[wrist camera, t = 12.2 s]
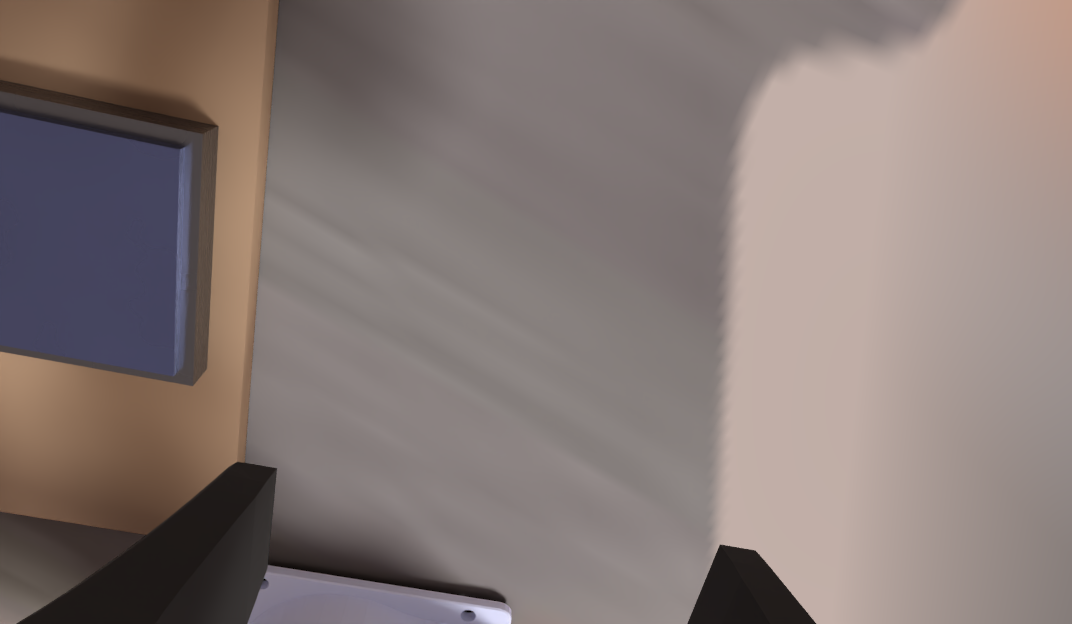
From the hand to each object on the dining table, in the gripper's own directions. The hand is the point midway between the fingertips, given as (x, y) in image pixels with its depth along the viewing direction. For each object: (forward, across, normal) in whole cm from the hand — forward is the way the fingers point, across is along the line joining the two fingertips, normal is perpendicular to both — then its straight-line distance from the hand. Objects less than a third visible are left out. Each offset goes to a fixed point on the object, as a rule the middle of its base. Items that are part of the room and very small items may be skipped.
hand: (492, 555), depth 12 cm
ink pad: (+10, +11, 0) cm, 15 cm away
